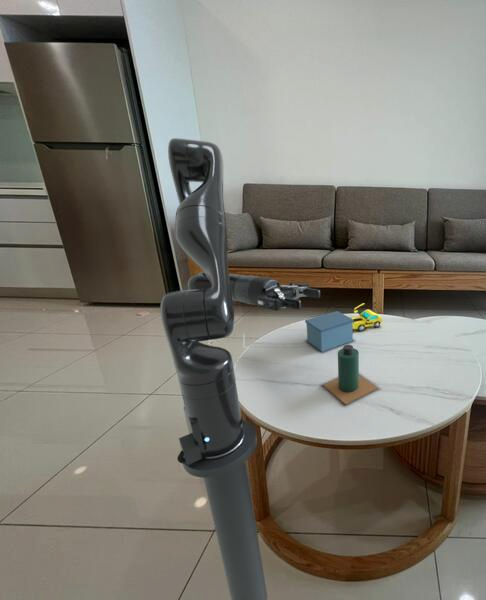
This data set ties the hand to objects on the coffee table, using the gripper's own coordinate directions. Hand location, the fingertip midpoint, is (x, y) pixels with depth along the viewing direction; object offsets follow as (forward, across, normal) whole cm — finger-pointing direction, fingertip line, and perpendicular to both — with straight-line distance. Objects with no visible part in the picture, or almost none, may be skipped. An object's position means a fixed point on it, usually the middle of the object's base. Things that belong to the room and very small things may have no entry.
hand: (310, 299), depth 79 cm
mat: (+10, 0, +23) cm, 25 cm away
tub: (-7, +21, +23) cm, 32 cm away
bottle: (+10, 0, +23) cm, 25 cm away
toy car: (-1, +36, +23) cm, 43 cm away
